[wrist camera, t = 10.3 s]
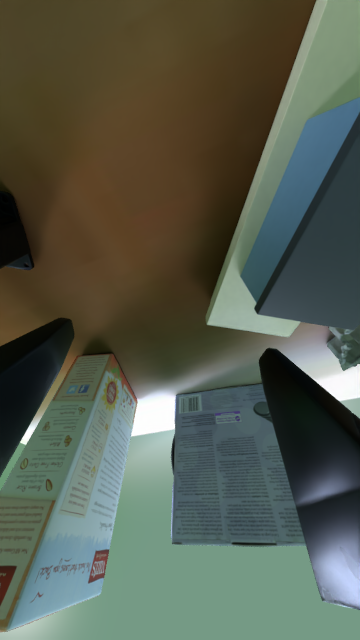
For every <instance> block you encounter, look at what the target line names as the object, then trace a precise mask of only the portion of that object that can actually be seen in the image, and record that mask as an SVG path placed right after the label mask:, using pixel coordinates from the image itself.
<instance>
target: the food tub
mask: <svg viewBox="0 0 360 640" xmlns="http://www.w3.org/2000/svg"><path fill="white" fill-rule="evenodd" d="M240 277H241V278H242V280H243V282H244V283H245V285H246V287H247V288H248V290H249V292H250V293H251V295H252V297H253V298H254V300H255V302H256V305H255V307H254V310H255V311H256V313H257V314H258V315H263V316H269V317H275V318H281V319H287V320H294V321H300V322H306V323H312V324H318V325H324V326H330V327H336V328H342V329H348V330H354V329H356V328H357V327H358V326H359V325H360V97H358V98H356V99H354V100H351V101H349V102H347V103H345V104H342V105H340V106H338V107H335V108H333V109H331V110H328V111H326V112H324V113H322V114H319V115H317V116H315V117H312V118H310V119H308V120H307V121H306V123H305V126H304V128H303V130H302V133H301V135H300V137H299V140H298V142H297V144H296V147H295V149H294V151H293V154H292V156H291V158H290V161H289V163H288V165H287V168H286V170H285V172H284V175H283V177H282V179H281V182H280V184H279V186H278V189H277V191H276V193H275V196H274V198H273V200H272V203H271V205H270V207H269V210H268V212H267V215H266V217H265V219H264V222H263V224H262V226H261V229H260V231H259V233H258V236H257V238H256V240H255V243H254V245H253V247H252V250H251V252H250V254H249V257H248V259H247V261H246V264H245V266H244V268H243V271H242V273H241V275H240Z"/></svg>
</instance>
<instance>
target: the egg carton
mask: <svg viewBox="0 0 360 640" xmlns="http://www.w3.org/2000/svg"><path fill="white" fill-rule="evenodd" d="M329 329H330V330H331V331H332V332H333V333H334V335H335V337H334V338H333V339H332V340H330V341H329V342H328V343H327V347H328V348H329V349H330V350H331V351H332V352H333V353H334V355H335V356H336V357H337V358H338V359H339V362H340V364H341V367H342V370H343V371H345V370H346V369H348V368H350V367H353V366H357V364H360V325H359V326H358V327H357V328H356V329H354V330H348V329H342V328H336V327H330V326H329Z"/></svg>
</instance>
